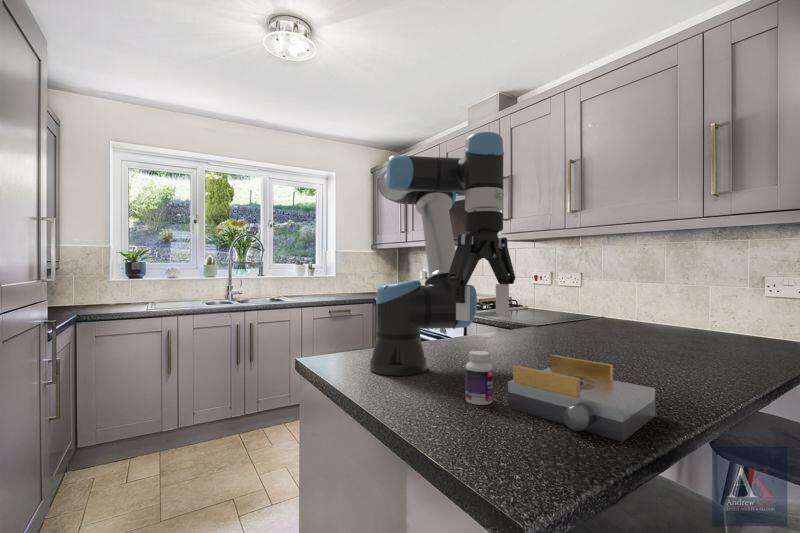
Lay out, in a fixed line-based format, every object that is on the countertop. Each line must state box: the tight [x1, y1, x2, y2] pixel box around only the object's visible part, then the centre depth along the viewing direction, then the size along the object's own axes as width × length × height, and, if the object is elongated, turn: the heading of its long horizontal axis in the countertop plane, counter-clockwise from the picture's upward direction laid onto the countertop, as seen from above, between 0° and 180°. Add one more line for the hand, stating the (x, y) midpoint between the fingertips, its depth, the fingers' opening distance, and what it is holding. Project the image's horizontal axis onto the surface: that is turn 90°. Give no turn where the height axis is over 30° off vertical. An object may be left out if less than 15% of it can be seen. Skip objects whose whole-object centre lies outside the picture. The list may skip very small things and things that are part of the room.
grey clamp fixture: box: [507, 354, 656, 443], centre depth 71 cm, size 20×19×8 cm
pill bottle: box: [465, 350, 494, 406], centre depth 78 cm, size 5×5×10 cm
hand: (483, 317), depth 79 cm, fingers open, 13 cm apart
